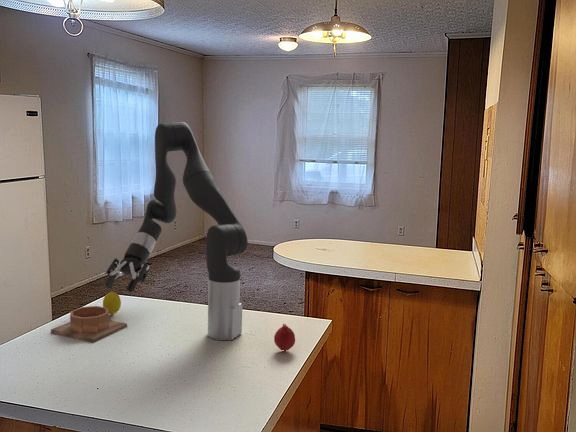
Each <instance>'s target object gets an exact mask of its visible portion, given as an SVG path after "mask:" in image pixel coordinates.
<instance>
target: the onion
mask: <svg viewBox="0 0 576 432" xmlns="http://www.w3.org/2000/svg"><path fill="white" fill-rule="evenodd" d="M273 340H274V341H273V342H274V344H275V346H277V348H278V349H279V350H280V351H281V350H284V351H285V352H287V351H289V350H291V348H293V347H294V345H295V343H296V335H295V333H294V331H293V330H292V329H291V328H290V327H289V326H288V325H287V324H285V323H283V324H282V326H281V327H280V328H278V329H277V330H276V332H275V334H274V336H273ZM286 350H287V351H286Z"/></svg>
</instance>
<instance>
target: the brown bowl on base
mask: <svg viewBox="0 0 576 432" xmlns="http://www.w3.org/2000/svg"><path fill="white" fill-rule="evenodd" d="M69 319H70V321H69V322H66V323H63V324H60V325H59V326H58V325H57V326H56V327H54V328H51V329H50V333H52V334H55V335H59V336H63V337H69V338H73V339H77V340H81V341H86V342H90V343H95V342H98V341H101V340H102V339H104V338H107V337H109V336H110V335H113V334H116V333H117V332H119V331H122V330H123V329H126V328H128V323H126V322H121V321H116V320H110V314H109V311H108V308H105V307H103V306H99V305H93V306H92V305H89V306H81V307H78V308H75V309H73V310H70V313H69Z"/></svg>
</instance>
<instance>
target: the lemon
mask: <svg viewBox="0 0 576 432" xmlns="http://www.w3.org/2000/svg"><path fill="white" fill-rule="evenodd" d="M102 300H103V301H102V307H105V308H108V311H109V316H114V315H115V314H116V313H118V312H119V311H120V309H121V306H122V300H121V297H120V295H119V294H118V293H117V292H114V291H110V292H108V293H106V294H105V295H104V298H103V299H102Z"/></svg>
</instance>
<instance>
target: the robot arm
mask: <svg viewBox="0 0 576 432" xmlns="http://www.w3.org/2000/svg"><path fill="white" fill-rule="evenodd" d="M175 151H176V152H177V151H182V152H183V153H184V155H185V156H186V162H185V163H186V164H185V168H184V170H183V174H182V183H183V187H184V189H185V190H186V192H187V195H188V197H189V198H190V199H191V201H192V202H193V203H194V204H195V205H196V206H197V207H198V208H199V209H201V210H202V211H203V212H204V213H206V214H208V215H209V216H210V217H212V218H213V220H214V221H215V222H216V223H217V224H215V225H211V226H210V227H209V228H208V230H207V232H206V237H205V253H206V269H207V274H208V286H207V287H208V289H207V290H208V291H207V294H208V297H207V303H208V305H207V336H208V337H209V338H210V339H213V340H218V341H227V340H228V341H233V340H235V339H236V338H237V336H238V335H239V334H240V335H242V334H243V333H242V331H243V303H242V302H240V299H241V296H240V295H241V293H240V292H241V270H240V268H238V267H237V266H234V265H229V264H228V260H227V258H228V256H235V255H240V254H243V253H245V252H246V250H247V248H248V244H249V243H248V236H247V233H246V231H245V229H244V227H243V225H242V224H241V222H240V220H239V219H238V217H237V216H236V215H235V213H234V212H233V210H232V209H231V207H230V205H229V204H228V202H227V201H226V199H225V197H224V195H223V194H222V191H221V190H220V188H219V186H218V184H217V182H216V179H215V177H214V176H213V173H212V172H211V170H210V169H209V167H208V166H207V164H206V161H205V159H204V157H203V156H202V153H201V152H200V149H199V145H198V144H197V141H196V139H195V137H194V133H193V131H192V129H191V127H190V126H189V125H188V123H186V122H185V121H172V122H170V121H169V122H162V123H159V124H157V126H156V128H155V132H154V157H155V162H154V163H155V178H154V187H153V197H154V198H153V199H152V200H150V201H149V202H148V203H147V206H146V209H145V215H144V219H143V222H142V224H141V226H140V227H139V229H138V232H137V233H136V234H135V236H134V237H133V239H132V240H131V242H130V244H129V246H128V247H127V248H126V250H125V253H124V257H123V259H122V260H119V259H118V258H116V257H115V258H114V259H113V261H112V262H111V264H110V265H109V267H108V268H107V270H106V274H107V275H108V278H107V280H106V282H105V287H106V288H107V289H109V290H110V289H112V286H113V285H114V283H115V281H116V279H117V278H119V277H123V275H124V276H125V275H126V276H127V275H129V276H131V277H132V279H130V281H129V283H128V284H127V286H126V291H127V292H128V293H132V292H133V291H134V290H135V288H136V286H137V284H139V283H144V282H145V281H146V279H147V277H148V274H149V272H150V270H151V267H150V265H149V264H148V263H147V260H149V257H150V256H151V254H152V251H153V250H154V247H155V245H156V242H157V241H158V239H159V237H160V235H161V233H162V227H161V226H162V225H160V224H159V223H158V222H156V221H159V222H161V223H164V224H170V223H173V221H175V219H176V217H177V204H176V199H175V190H176V185H177V178H176V173H175V172H174V171H173V169H172V167H171V164H169V162H168V158H167V157H168V156H167V155H168V152H175ZM155 220H156V221H155ZM241 333H242V334H241ZM240 335H239V336H240ZM239 336H238V337H239ZM235 337H236V338H235ZM234 338H235V339H234Z"/></svg>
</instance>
